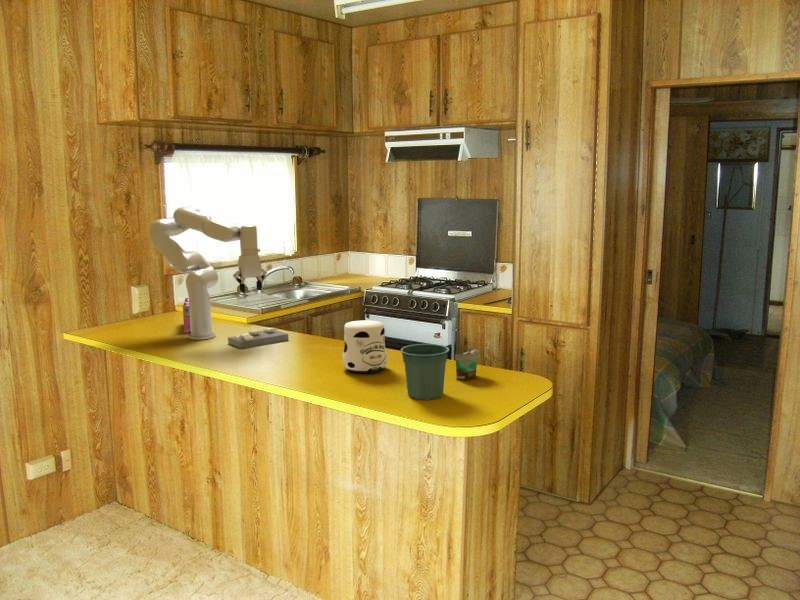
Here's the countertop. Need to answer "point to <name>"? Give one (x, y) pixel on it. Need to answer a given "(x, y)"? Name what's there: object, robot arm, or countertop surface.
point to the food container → (466, 365)
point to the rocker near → (246, 336)
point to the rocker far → (269, 329)
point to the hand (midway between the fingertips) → (251, 290)
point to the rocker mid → (255, 332)
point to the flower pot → (425, 370)
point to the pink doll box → (186, 316)
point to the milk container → (364, 346)
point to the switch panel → (258, 339)
